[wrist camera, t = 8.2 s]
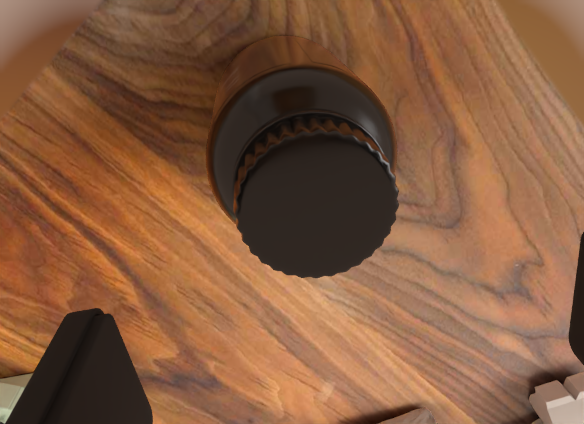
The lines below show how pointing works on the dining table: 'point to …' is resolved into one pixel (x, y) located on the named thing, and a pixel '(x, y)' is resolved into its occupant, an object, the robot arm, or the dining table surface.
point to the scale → (11, 393)
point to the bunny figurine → (560, 401)
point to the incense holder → (413, 418)
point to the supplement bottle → (302, 158)
